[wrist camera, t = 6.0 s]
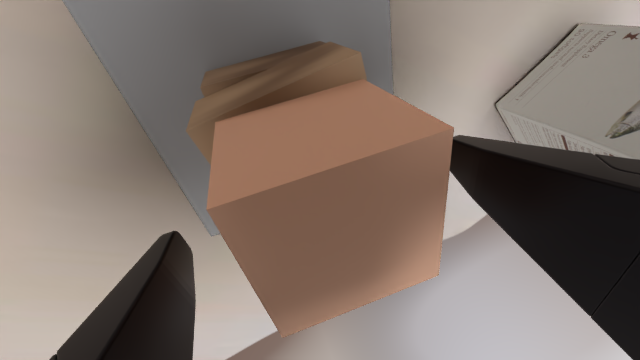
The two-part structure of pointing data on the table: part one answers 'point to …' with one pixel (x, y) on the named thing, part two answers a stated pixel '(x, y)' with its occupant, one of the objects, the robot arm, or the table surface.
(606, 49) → the supplement box
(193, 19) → the felt mat
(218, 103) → the tower top
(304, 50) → the block
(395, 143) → the terracotta block
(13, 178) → the table surface
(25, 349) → the table surface
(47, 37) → the table surface
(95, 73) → the table surface
